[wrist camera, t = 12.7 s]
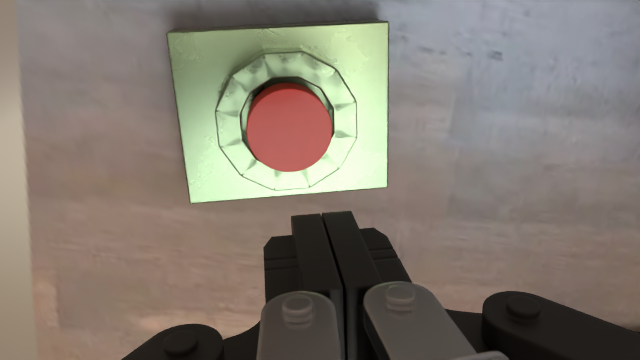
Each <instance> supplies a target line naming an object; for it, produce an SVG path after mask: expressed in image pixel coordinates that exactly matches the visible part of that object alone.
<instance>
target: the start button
mask: <svg viewBox="0 0 640 360" xmlns="http://www.w3.org/2000/svg"><path fill="white" fill-rule="evenodd" d="M246 135H247V141H248V144H249V146H250V149H251V151H252V152H253V154H254V155H255V156H256V158H257V159H258V160H259V161H260V162H262V163H263V164H264V165H266V166H268V167H269V168H271V169H274V170H277V171H282V172H296V171H300V170H304V169H306V168H308V167H310V166H312V165H314V164H315V163H316V162H318V161H319V160H320V159H321V158H322V156H323V155H324V154H325V152H326V151H327V149H328V147H329V145H330V142H331V138H332V122H331V117H330V115H329V112H328V111H327V109H326V107H325V105H324V104H323V102H322V101H321V99H320V98H319V97H318V96H317V95H316V94H315V93H314V92H313V91H312V90H311V89H309V88H307V87H305V86H303V85H300V84H297V83H291V82H285V83H278V84H274V85H272V86H269V87H268V88H266V89H264V90H263V91H262V92H260V93H259V94H258V95H257V96H256V98H255V99H254V100H253V102H252V104H251V106H250V108H249V111H248V115H247V125H246Z"/></svg>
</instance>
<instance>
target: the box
mask: <svg viewBox="0 0 640 360" xmlns="http://www.w3.org/2000/svg"><path fill="white" fill-rule="evenodd" d="M166 36H167V43H168V50H169V57H170V65H171V72H172V79H173V86H174V93H175V101H176V108H177V115H178V122H179V129H180V136H181V144H182V151H183V158H184V165H185V172H186V180H187V187H188V194H189V201H190V203H191V204H193V203H205V202H217V201H229V200H241V199H254V198H266V197H278V196H290V195H302V194H315V193H327V192H339V191H351V190H363V189H375V188H387V187H388V101H389V22H388V21H384V20H379V19H373V20H352V21H332V22H311V23H290V24H270V25H249V26H228V27H207V28H187V29H173V30H171V31H168V32H167V33H166ZM285 82H291V83H297V84H300V85H303V86H305V87H307V88H309V89H311V90H312V91H313V92H314V93H315V94H316V95H317V96H318V97H319V98H320V99H321V101H322V102H323V104H324V105H325V107H326V109H327V111H328V112H329V115H330V117H331V122H332V138H331V142H330V145H329V147H328V149H327V151H326V152H325V154H324V155H323V156H322V158H321V159H320V160H319V161H318V162H316V163H315V164H314V165H312V166H310V167H308V168H306V169H304V170H300V171H296V172H282V171H277V170H274V169H271V168H269V167H268V166H266V165H264V164H263V163H262V162H260V161H259V160H258V159H257V158H256V156H255V155H254V154H253V152H252V151H251V149H250V146H249V144H248V141H247V135H246V125H247V115H248V111H249V108H250V106H251V104H252V102H253V100H254V99H255V98H256V96H257V95H258V94H259V93H260V92H262V91H263V90H264V89H266V88H268V87H269V86H272V85H274V84H278V83H285Z"/></svg>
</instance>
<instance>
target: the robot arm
mask: <svg viewBox="0 0 640 360" xmlns="http://www.w3.org/2000/svg"><path fill="white" fill-rule="evenodd" d="M291 226H292V235H287V236H276V237H271V239H270V240H269V241H268V243H267V244H266V245H265V246H264V270H265V297H266V305H265V306H264V307H263V309H262V312H261V320H260V321H259V322H258V323H257V324H256V325H255V326H254V327H252V328H251V329H249V330H247V331H245V332H243V333H241V334H239V335H236V336H233V337H230V338H227V339H224V340H223V339H222V337H221V335H220V333H219V332H218V331H217V330H215V329H214V328H212V327H210V326H206V325H202V324H184V325H178V326H175V327H171V328H169V329H166V330H164V331H162V332H160V333H158V334H157V335H155V336H153V337H152V338H151V339H149V340H148V341H146V342H145V343H144V344H142V345H141V346H140V347H138V348H137V349H135V350H134V351H133V352H131V353H130V354H128V355H127V356H126V357H124V358H123V359H122V360H640V334H639V333H636V332H633V331H631V330H628V329H625V328H623V327H620V326H617V325H615V324H612V323H609V322H607V321H604V320H601V319H599V318H596V317H593V316H591V315H588V314H585V313H583V312H580V311H577V310H575V309H572V308H569V307H567V306H564V305H561V304H558V303H556V302H553V301H550V300H548V299H545V298H542V297H540V296H537V295H534V294H530V293H525V292H518V291H506V292H500V293H496V294H493V295H491V296H490V297H488V298H487V299H486V300H485V301H484V303H483V310H482V313H471V312H461V311H453V310H448V309H444V308H443V307H442V305H441V304H440V303H439V301H438V300H437V299H436V297H435V296H434V295H433V294H432V293H431V292H430V291H429V290H428V289H426V288H424V287H422V286H420V285H417V284H414V283H412V281H411V279H410V278H409V276H408V274H407V272H406V270H405V268H404V267H403V265H402V263H401V261H400V259H399V258H398V256H397V254H396V252H395V250H394V249H393V247H392V245H391V243H390V241H389V239H388V238H387V236H386V235H384V234H383V233H381V232H379V231H378V230H376V229H375V228H364V229H359V227H358V225H357V223H356V221H355V219H354V216H353V214H352V212H351V211H342V212H330V213H322V216H321V215H320V214H308V215H296V216H291Z"/></svg>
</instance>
